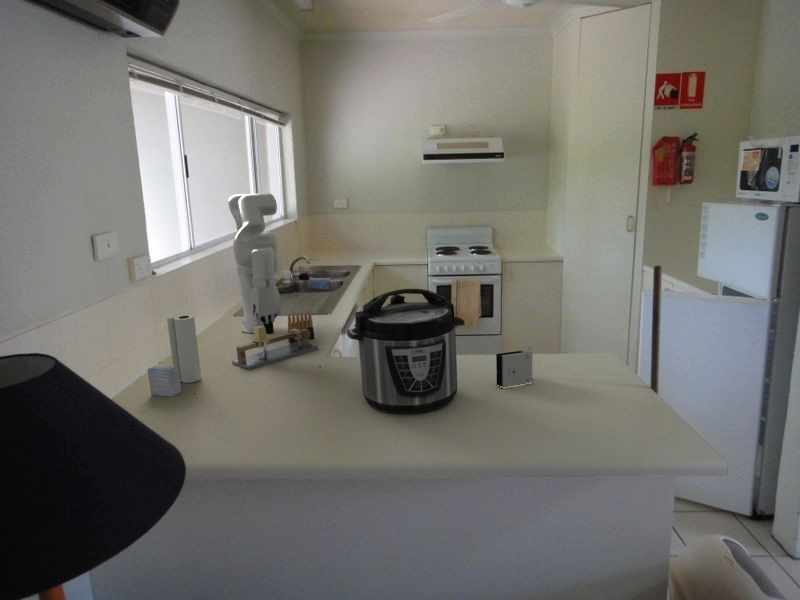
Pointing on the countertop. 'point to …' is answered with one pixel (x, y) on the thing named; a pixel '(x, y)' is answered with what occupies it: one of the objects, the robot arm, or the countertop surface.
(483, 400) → the countertop surface
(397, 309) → the pressure cooker
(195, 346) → the paper towel roll
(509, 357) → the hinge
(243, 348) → the bar
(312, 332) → the ammunition clip
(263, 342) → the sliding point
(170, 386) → the pale blue-grey upright block
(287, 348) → the bolt-hole plate
